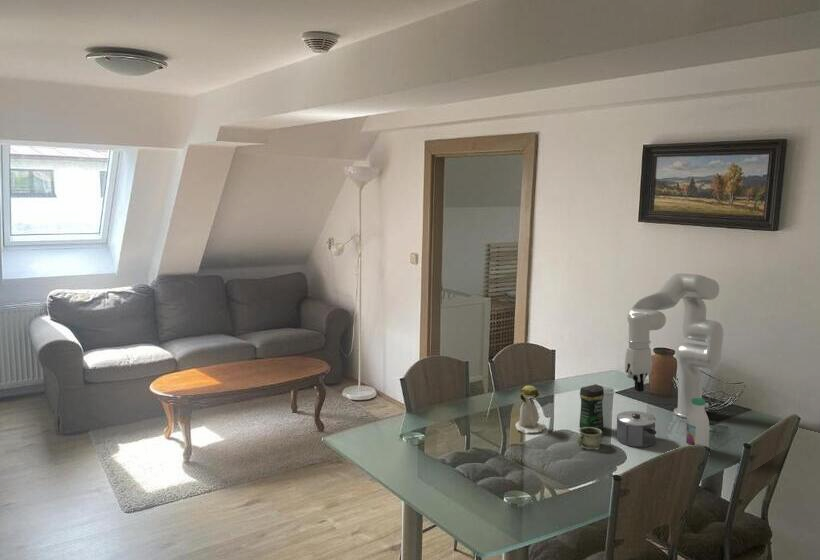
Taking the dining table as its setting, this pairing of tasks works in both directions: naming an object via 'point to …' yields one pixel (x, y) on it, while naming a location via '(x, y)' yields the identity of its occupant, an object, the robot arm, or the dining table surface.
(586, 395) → the coffee jar
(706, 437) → the milk bottle
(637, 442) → the pot
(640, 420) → the lid
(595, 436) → the vessel
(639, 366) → the robot arm
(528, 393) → the white figurine
